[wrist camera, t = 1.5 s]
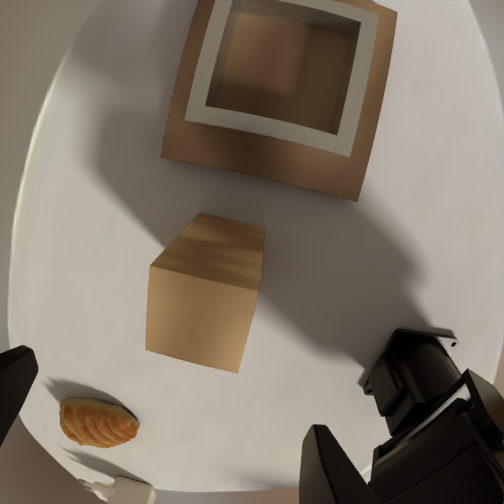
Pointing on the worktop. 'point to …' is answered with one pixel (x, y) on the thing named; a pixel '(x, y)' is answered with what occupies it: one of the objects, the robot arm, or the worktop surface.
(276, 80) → the plate
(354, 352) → the worktop surface
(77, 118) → the worktop surface
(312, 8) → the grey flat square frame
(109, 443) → the pastry
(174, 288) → the rail post
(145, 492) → the power adapter
